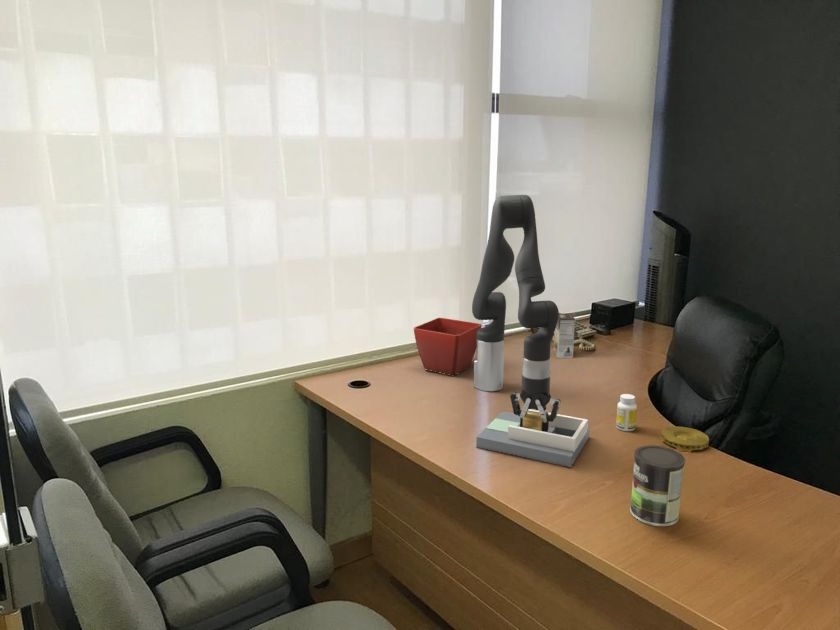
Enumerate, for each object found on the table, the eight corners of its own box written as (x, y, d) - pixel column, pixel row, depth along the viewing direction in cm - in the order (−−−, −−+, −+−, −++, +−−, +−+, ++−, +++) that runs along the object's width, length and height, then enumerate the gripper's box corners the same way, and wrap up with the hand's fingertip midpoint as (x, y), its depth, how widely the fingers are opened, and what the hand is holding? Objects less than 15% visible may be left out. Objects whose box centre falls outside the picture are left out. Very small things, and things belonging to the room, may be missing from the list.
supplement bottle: (635, 425, 185) (637, 394, 182) (635, 432, 180) (637, 400, 178) (616, 423, 187) (618, 392, 184) (615, 430, 182) (617, 398, 179)
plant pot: (482, 366, 239) (482, 323, 235) (457, 381, 223) (458, 335, 219) (439, 358, 249) (438, 317, 245) (412, 372, 233) (412, 328, 229)
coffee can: (641, 528, 134) (646, 468, 130) (622, 502, 144) (626, 446, 140) (688, 525, 135) (694, 465, 131) (666, 500, 145) (671, 443, 141)
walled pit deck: (476, 447, 172) (476, 425, 170) (502, 420, 189) (502, 400, 188) (570, 467, 160) (572, 443, 159) (589, 437, 177) (590, 415, 176)
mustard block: (522, 433, 173) (522, 418, 172) (528, 427, 177) (528, 412, 176) (540, 437, 171) (540, 421, 170) (545, 430, 175) (546, 415, 174)
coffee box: (553, 351, 256) (554, 313, 252) (568, 351, 256) (570, 313, 252) (557, 358, 247) (559, 318, 243) (573, 358, 247) (575, 318, 243)
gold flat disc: (651, 438, 177) (652, 431, 176) (684, 430, 182) (684, 423, 181) (684, 456, 166) (685, 448, 166) (718, 447, 171) (719, 440, 170)
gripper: (506, 373, 170) (504, 431, 174) (558, 381, 163) (555, 442, 167) (515, 365, 176) (513, 422, 180) (566, 373, 170) (563, 431, 174)
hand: (534, 431), depth 174 cm, fingers closed on mustard block, 5 cm apart
